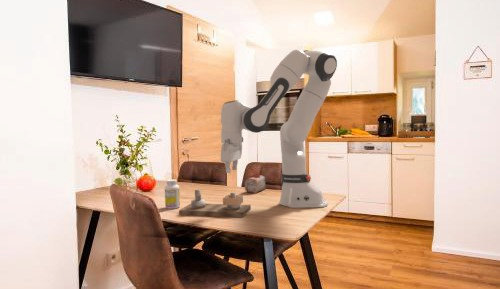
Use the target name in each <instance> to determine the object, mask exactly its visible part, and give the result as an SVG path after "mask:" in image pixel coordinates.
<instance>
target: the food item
mask: <svg viewBox="0 0 500 289" xmlns="http://www.w3.org/2000/svg"><path fill="white" fill-rule="evenodd" d="M250 175H251V176H250V177H249V178H247V179H246V180H245V182H244V190H245V192H247V193H249V194H250V193H251V194H257V193H259V192H262V191H264V190H266V177H265V176H264V175H260V174H257V173H256V174H253V173H250Z"/></svg>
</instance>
